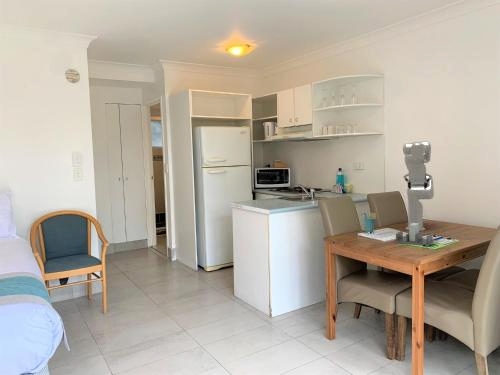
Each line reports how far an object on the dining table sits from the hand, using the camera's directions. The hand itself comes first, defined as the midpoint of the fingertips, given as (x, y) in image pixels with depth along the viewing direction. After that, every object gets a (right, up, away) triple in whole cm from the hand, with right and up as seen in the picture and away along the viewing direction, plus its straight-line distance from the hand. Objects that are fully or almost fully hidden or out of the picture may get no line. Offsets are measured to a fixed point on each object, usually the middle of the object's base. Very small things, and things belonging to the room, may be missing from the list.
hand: (417, 188), depth 253 cm
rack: (-6, -34, -10) cm, 36 cm away
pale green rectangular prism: (-6, -32, -10) cm, 34 cm away
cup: (-25, -32, +23) cm, 46 cm away
